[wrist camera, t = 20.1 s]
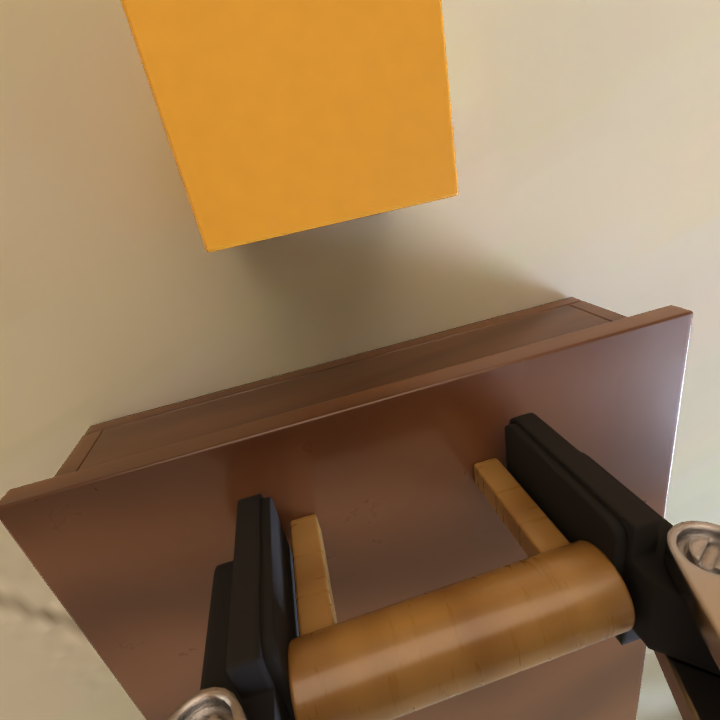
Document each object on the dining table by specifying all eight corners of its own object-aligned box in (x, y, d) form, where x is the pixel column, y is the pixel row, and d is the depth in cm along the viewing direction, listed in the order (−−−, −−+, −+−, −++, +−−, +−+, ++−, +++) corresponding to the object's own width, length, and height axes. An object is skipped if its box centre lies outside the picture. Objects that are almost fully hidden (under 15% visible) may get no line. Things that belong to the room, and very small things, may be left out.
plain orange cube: (358, -16, 11) (428, -159, 6) (390, 191, 13) (460, 195, 8) (160, 17, 10) (79, -116, 6) (226, 227, 12) (206, 253, 8)
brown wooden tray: (90, 424, 14) (26, 515, 10) (571, 296, 16) (668, 330, 12) (261, 737, 22) (261, 852, 18) (566, 625, 24) (623, 707, 20)
